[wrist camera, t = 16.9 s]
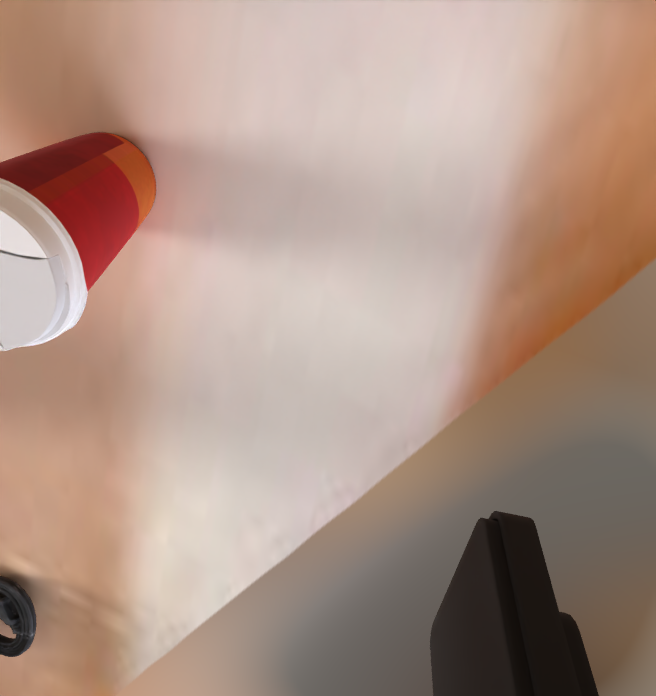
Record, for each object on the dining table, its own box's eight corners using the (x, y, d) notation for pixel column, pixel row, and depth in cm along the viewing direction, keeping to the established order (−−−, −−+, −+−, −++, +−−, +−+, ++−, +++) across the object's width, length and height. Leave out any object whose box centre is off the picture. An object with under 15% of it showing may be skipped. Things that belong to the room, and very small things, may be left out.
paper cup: (26, 196, 37) (-145, 297, 25) (73, 82, 34) (-99, 137, 22) (143, 267, 39) (35, 393, 27) (199, 166, 36) (104, 259, 24)
